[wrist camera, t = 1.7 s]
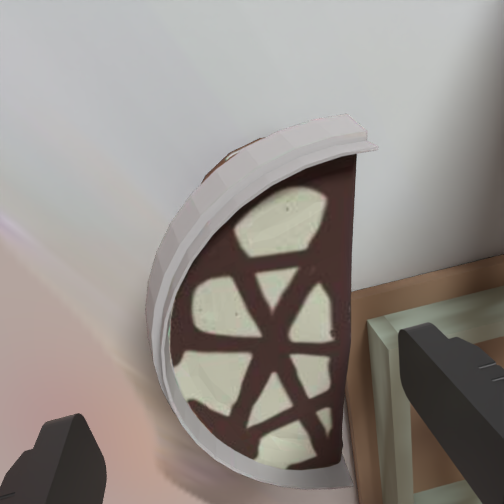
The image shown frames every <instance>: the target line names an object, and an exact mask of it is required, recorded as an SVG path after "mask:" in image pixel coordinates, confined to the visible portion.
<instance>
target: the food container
mask: <svg viewBox="0 0 504 504" xmlns="http://www.w3.org/2000/svg"><path fill="white" fill-rule="evenodd" d="M374 150H378V146H377V145H375V144H373V143H371V142H369V141H367V130H366V129H365V128H363V127H362V126H361V125H360V124H359V123H357V122H356V121H355V120H354V119H353V118H352V117H350V116H349V115H348V114H343V115H337V116H331V117H325V118H319V119H313V120H310V121H307V122H304V123H301V124H298V125H295V126H292V127H289V128H286V129H283V130H280V131H277V132H275V133H273V134H271V135H270V136H268V137H264V138H259V139H257V140H255V141H253V142H251V143H249V144H247V145H245V146H243V147H240V148H238V149H236V150H234V151H232V152H230V153H229V154H228V155H227V156H226V157H224V158H223V159H222V160H221V161H220V162H219V163H218V164H217V165H216V166H215V167H214V168H213V169H212V170H211V171H210V172H209V173H208V174H207V175H206V176H205V178H204V179H203V181H202V183H201V185H200V186H199V187H198V188H197V189H196V190H195V191H194V192H193V193H192V194H191V195H190V196H189V198H188V199H187V201H186V202H185V203H184V205H183V206H182V208H181V209H180V210H179V212H178V213H177V215H176V216H175V217H174V219H173V220H172V222H171V223H170V225H169V227H168V229H167V231H166V233H165V235H164V237H163V239H162V242H161V244H160V246H159V248H158V250H157V252H156V255H155V259H154V262H153V266H152V269H151V273H150V276H149V280H148V287H147V298H146V308H145V311H146V322H147V332H148V339H149V344H150V348H151V353H152V357H153V362H154V366H155V369H156V373H157V376H158V380H159V383H160V387H161V389H162V391H163V393H164V395H165V397H166V399H167V401H168V403H169V405H170V407H171V409H172V411H173V412H174V413H175V414H176V416H177V417H178V419H179V421H180V423H181V425H182V426H183V427H184V429H185V430H186V431H187V432H188V434H189V435H190V436H191V437H192V439H193V440H194V441H195V442H196V444H197V445H199V446H200V447H201V448H202V449H203V450H204V451H205V452H207V453H208V454H209V455H210V456H211V457H212V458H214V459H215V460H216V461H218V462H220V463H221V464H223V465H225V466H226V467H228V468H230V469H231V470H233V471H235V472H237V473H239V474H242V475H244V476H247V477H249V478H252V479H254V480H257V481H260V482H264V483H268V484H272V485H276V486H280V487H288V488H297V489H305V490H306V489H336V488H345V487H353V482H352V479H351V477H350V474H349V471H348V468H347V466H346V463H345V460H344V458H343V455H342V448H343V442H342V419H343V404H344V394H345V384H346V377H347V371H348V364H349V355H350V348H351V264H352V237H353V217H354V197H355V177H356V158H357V153H363V152H369V151H374Z"/></svg>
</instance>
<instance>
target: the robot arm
mask: <svg viewBox="0 0 504 504" xmlns="http://www.w3.org/2000/svg"><path fill="white" fill-rule="evenodd" d="M398 347H399V367H400V379H401V384H402V387H403V390H404V392H405V394H406V396H407V398H408V400H409V401H410V403H411V404H412V406H413V407H414V409H415V410H416V411H417V413H418V414H419V416H420V417H421V418H422V420H423V421H424V423H425V424H426V425H427V427H428V428H429V430H430V431H431V432H432V434H433V435H434V437H435V438H436V439H437V441H438V442H439V444H440V445H441V446H442V448H443V449H444V451H445V452H446V453H447V455H448V456H449V458H450V459H451V460H452V462H453V463H454V465H455V466H456V467H457V469H458V470H459V472H460V473H461V474H462V476H463V477H464V478H465V480H466V481H467V483H468V484H469V485H470V487H471V488H472V490H473V491H474V492H475V494H476V495H477V497H478V498H479V499H480V501H481V502H482V504H504V369H503V368H502V367H501V366H500V365H497V364H496V362H495V361H494V360H493V359H492V358H491V357H490V356H489V355H488V354H486V353H485V352H484V351H483V350H482V349H481V348H480V347H478V346H476V345H474V344H472V343H470V342H468V341H465V340H463V339H461V338H459V337H453V338H450V339H448V338H447V337H446V336H445V335H444V334H443V333H442V332H441V331H440V330H439V329H438V328H437V327H436V326H435V325H434V324H432V323H430V322H427V323H423V324H419V325H415V326H412V327H408V328H404V329H401V330H399V333H398ZM106 477H107V475H106V465H105V461H104V457H103V455H102V453H101V451H100V449H99V447H98V445H97V443H96V440H95V438H94V436H93V434H92V432H91V430H90V428H89V426H88V424H87V422H86V420H85V418H84V417H83V416H82V415H81V414H79V413H78V414H74V415H70V416H66V417H63V418H59V419H55V420H51V421H48V422H46V423H45V424H44V425H43V426H42V428H41V431H40V433H39V436H38V438H37V440H36V443H35V445H34V448H33V449H31V450H27V451H25V452H23V454H22V455H21V456H20V457H19V459H18V460H17V461H16V462H15V463H14V465H13V466H12V467H11V468H10V470H9V471H8V472H7V473H6V475H5V477H4V480H3V482H2V485H1V486H0V504H102V503H103V497H104V492H105V487H106Z"/></svg>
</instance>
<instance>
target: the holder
mask: <svg viewBox="0 0 504 504" xmlns="http://www.w3.org/2000/svg"><path fill="white" fill-rule="evenodd" d="M427 322H430V323H432V324H434V325H435V326H436V327H437V328H438V329H439V330H440V331H441V332H442V333H443V334H444V335H445V336H446V337H447V338H448V339H450V338H453V337H459V338H461V339H463V340H465V341H468V342H470V343H472V344H474V345H476V346H478V347H480V348H481V349H482V350H483V351H484V352H485V353H486V354H488V355H489V356H490V357H491V358H492V359H493V360H494V361H495V362H496V364H497V365H500V366H501V367H502V368H503V369H504V254H503V255H499V256H495V257H491V258H487V259H483V260H479V261H475V262H471V263H467V264H463V265H458V266H454V267H450V268H446V269H442V270H438V271H434V272H430V273H426V274H422V275H418V276H414V277H410V278H406V279H402V280H398V281H394V282H390V283H386V284H381V285H377V286H373V287H369V288H365V289H361V290H357V291H353V292H351V348H350V355H349V364H348V371H347V377H346V384H345V394H346V402H347V410H348V418H349V426H350V434H351V441H352V449H353V457H354V465H355V473H356V481H357V489H358V497H359V504H482V502H481V501H480V499H479V498H478V497H477V495H476V494H475V492H474V491H473V490H472V488H471V487H470V485H469V484H468V483H467V481H466V480H465V478H464V477H463V476H462V474H461V473H460V472H459V470H458V469H457V467H456V466H455V465H454V463H453V462H452V460H451V459H450V458H449V456H448V455H447V453H446V452H445V451H444V449H443V448H442V446H441V445H440V444H439V442H438V441H437V439H436V438H435V437H434V435H433V434H432V432H431V431H430V430H429V428H428V427H427V425H426V424H425V423H424V421H423V420H422V418H421V417H420V416H419V414H418V413H417V411H416V410H415V409H414V407H413V406H412V404H411V403H410V401H409V400H408V398H407V396H406V394H405V392H404V390H403V387H402V384H401V379H400V367H399V347H398V333H399V330H401V329H404V328H408V327H412V326H415V325H419V324H423V323H427Z"/></svg>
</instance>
